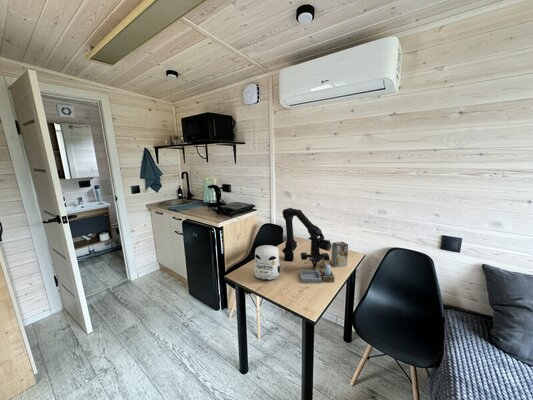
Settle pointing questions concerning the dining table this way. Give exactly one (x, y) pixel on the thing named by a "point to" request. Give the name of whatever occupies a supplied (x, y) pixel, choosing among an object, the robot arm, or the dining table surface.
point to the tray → (310, 276)
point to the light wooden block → (326, 264)
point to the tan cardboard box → (320, 267)
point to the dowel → (327, 270)
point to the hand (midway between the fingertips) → (314, 267)
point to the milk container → (267, 262)
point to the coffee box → (339, 254)
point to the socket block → (327, 277)
